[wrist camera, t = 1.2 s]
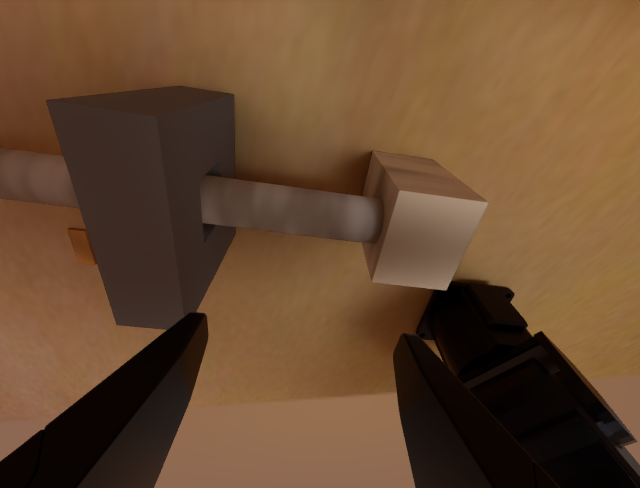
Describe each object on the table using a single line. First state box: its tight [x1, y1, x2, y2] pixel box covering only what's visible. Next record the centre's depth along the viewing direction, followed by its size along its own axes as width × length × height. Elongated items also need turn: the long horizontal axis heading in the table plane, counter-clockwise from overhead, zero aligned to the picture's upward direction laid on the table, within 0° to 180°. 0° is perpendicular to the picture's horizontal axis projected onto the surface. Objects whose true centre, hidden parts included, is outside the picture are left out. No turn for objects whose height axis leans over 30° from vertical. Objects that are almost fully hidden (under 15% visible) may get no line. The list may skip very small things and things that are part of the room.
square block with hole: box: [46, 86, 236, 330], centre depth 14 cm, size 9×3×9 cm, turn 172°
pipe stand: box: [0, 147, 489, 290], centre depth 17 cm, size 12×36×7 cm, turn 82°
